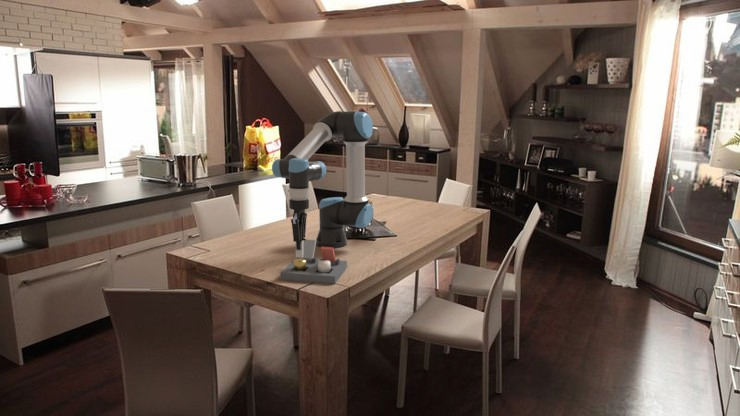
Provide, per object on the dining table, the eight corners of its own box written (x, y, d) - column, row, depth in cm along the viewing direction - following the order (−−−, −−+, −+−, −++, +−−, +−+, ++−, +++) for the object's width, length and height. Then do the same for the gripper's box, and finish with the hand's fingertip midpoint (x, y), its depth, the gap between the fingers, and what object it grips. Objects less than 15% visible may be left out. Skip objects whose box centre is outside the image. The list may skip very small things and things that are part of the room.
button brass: (296, 266, 203) (295, 258, 202) (307, 267, 202) (307, 258, 202) (291, 270, 198) (291, 261, 198) (304, 271, 197) (304, 262, 197)
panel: (297, 264, 215) (296, 253, 214) (347, 267, 212) (347, 256, 211) (280, 279, 196) (280, 267, 195) (335, 283, 192) (335, 271, 191)
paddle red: (325, 260, 209) (321, 246, 202) (336, 261, 208) (333, 247, 201) (324, 263, 208) (320, 249, 201) (335, 264, 207) (332, 250, 200)
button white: (319, 268, 201) (319, 259, 201) (331, 268, 201) (331, 260, 200) (316, 272, 197) (316, 263, 196) (328, 272, 196) (328, 264, 195)
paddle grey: (301, 261, 210) (305, 240, 213) (312, 262, 209) (316, 241, 212) (300, 260, 208) (304, 239, 212) (311, 261, 207) (315, 240, 211)
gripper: (295, 195, 202) (295, 251, 206) (284, 201, 189) (284, 261, 194) (313, 196, 200) (313, 253, 205) (303, 201, 188) (303, 262, 192)
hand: (299, 256), depth 199 cm, fingers closed
